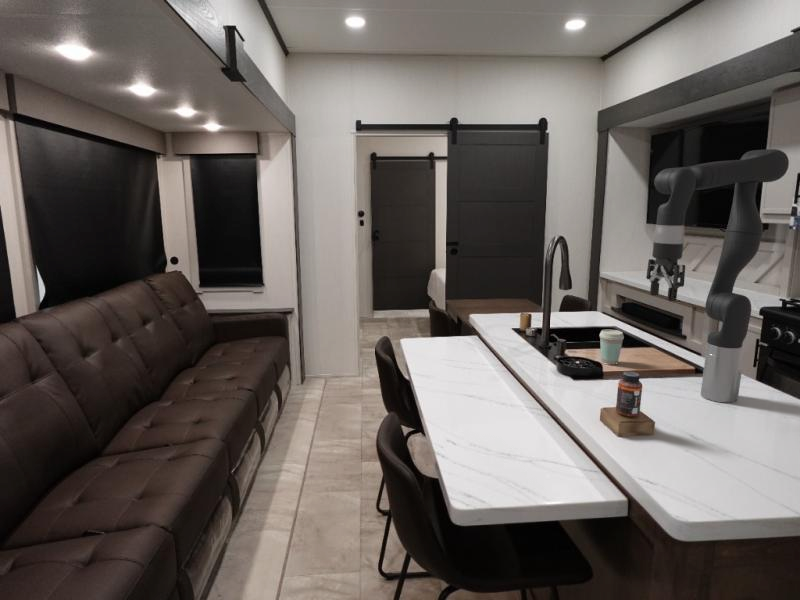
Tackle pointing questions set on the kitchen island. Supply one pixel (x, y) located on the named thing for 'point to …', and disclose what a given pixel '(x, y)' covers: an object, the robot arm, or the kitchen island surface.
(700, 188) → the robot arm
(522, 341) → the kitchen island surface
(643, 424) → the plinth
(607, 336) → the coffee cup
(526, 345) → the kitchen island surface
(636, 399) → the supplement bottle
